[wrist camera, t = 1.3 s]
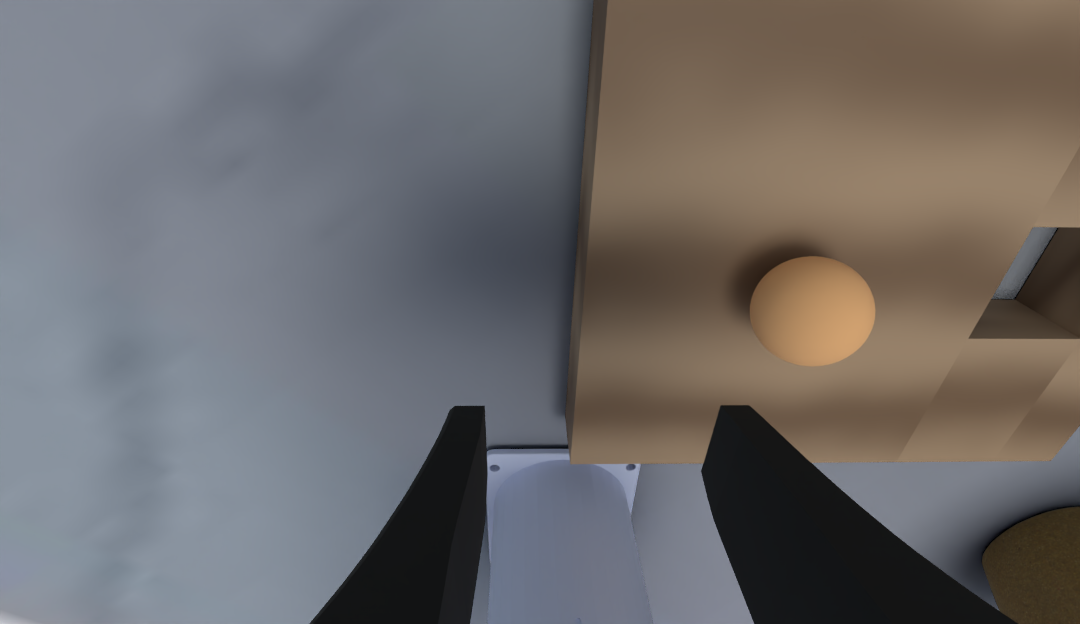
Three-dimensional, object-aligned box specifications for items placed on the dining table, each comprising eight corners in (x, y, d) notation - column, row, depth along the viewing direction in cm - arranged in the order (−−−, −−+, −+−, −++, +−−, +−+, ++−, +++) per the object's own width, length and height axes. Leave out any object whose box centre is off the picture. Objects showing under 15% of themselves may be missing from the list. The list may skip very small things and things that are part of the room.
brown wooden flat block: (996, 414, 25) (1050, 460, 23) (565, 416, 24) (570, 464, 22) (1285, -7, 16) (1434, -10, 13) (595, -29, 15) (610, -36, 12)
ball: (817, 327, 18) (875, 389, 15) (724, 326, 18) (763, 389, 15) (851, 239, 16) (923, 290, 13) (747, 238, 16) (798, 289, 13)
